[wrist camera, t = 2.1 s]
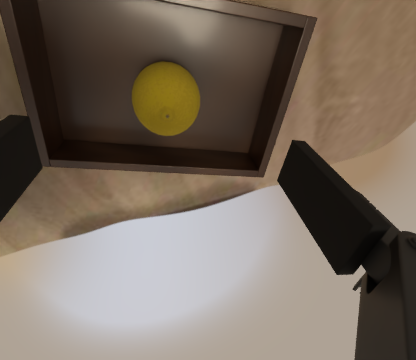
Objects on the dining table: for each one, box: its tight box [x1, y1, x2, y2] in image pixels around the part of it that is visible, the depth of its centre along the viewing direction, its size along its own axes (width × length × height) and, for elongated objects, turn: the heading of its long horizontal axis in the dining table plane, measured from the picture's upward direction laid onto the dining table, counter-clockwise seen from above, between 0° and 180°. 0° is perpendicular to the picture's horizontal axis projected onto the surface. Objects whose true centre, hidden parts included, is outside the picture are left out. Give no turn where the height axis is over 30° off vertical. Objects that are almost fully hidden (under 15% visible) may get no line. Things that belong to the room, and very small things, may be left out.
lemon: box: [132, 61, 200, 136], centre depth 20 cm, size 6×6×8 cm
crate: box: [0, 0, 317, 177], centre depth 22 cm, size 22×15×4 cm
